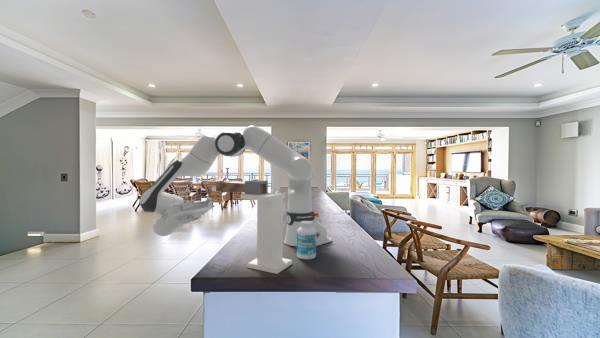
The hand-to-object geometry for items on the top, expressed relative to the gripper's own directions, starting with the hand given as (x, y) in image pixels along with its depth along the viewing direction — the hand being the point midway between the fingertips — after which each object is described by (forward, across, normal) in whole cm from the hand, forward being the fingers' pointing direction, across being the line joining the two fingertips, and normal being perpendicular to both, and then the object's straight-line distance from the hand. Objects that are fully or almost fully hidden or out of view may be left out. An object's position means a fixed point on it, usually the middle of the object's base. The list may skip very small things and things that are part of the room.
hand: (201, 200), depth 110 cm
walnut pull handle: (+19, 0, +5) cm, 20 cm away
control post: (+17, 0, +33) cm, 38 cm away
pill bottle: (+25, +14, +38) cm, 48 cm away
